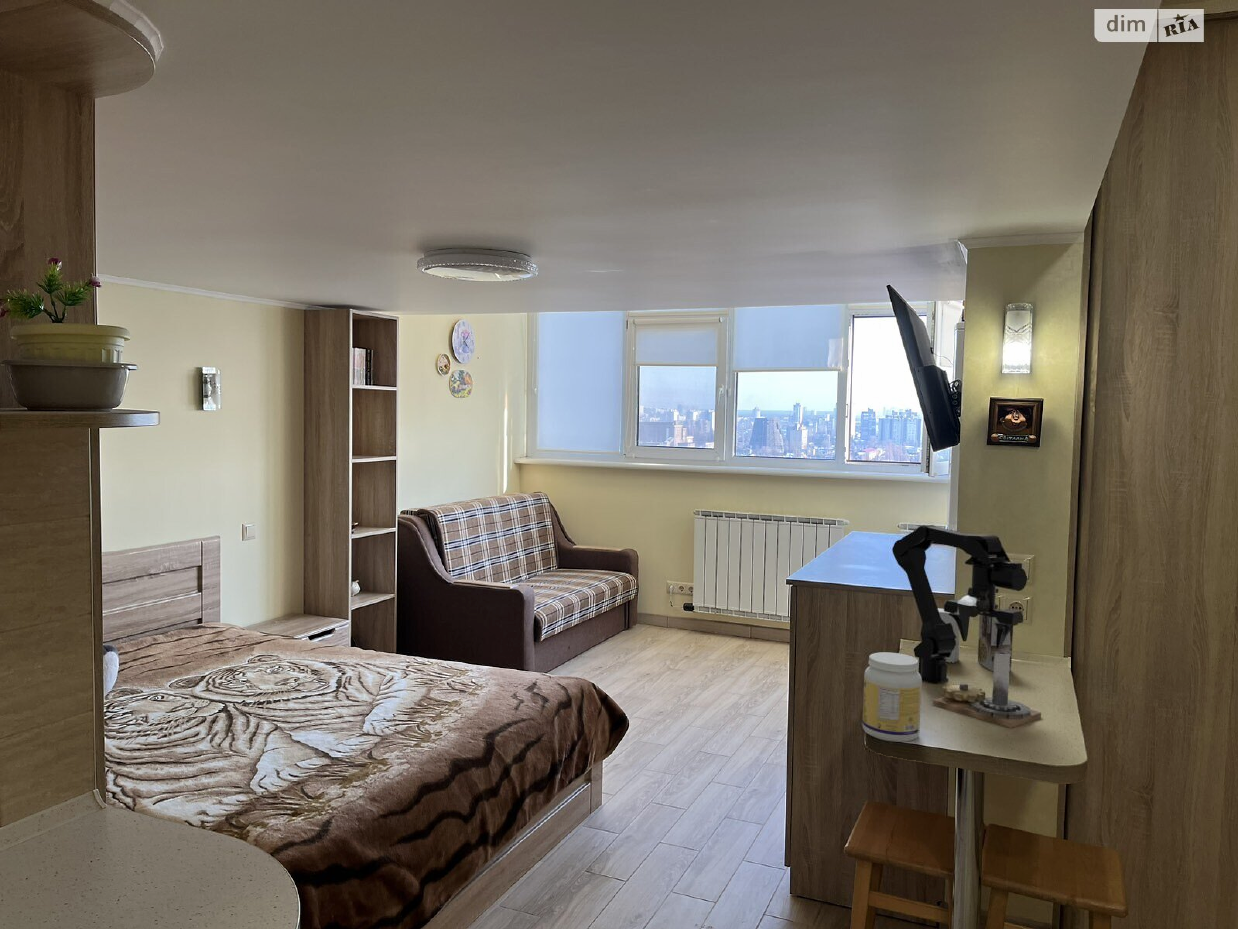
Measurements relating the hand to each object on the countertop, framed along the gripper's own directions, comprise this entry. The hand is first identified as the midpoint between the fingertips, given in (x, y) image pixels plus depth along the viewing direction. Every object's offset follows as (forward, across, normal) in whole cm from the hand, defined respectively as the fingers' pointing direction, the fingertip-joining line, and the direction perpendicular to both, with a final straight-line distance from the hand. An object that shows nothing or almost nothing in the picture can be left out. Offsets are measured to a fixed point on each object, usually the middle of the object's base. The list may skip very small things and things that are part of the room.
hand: (981, 645), depth 224 cm
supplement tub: (+13, +5, -44) cm, 46 cm away
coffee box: (+13, -13, +30) cm, 35 cm away
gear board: (+13, +8, -10) cm, 19 cm away
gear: (+12, +11, -10) cm, 19 cm away
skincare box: (+13, -26, +24) cm, 38 cm away
